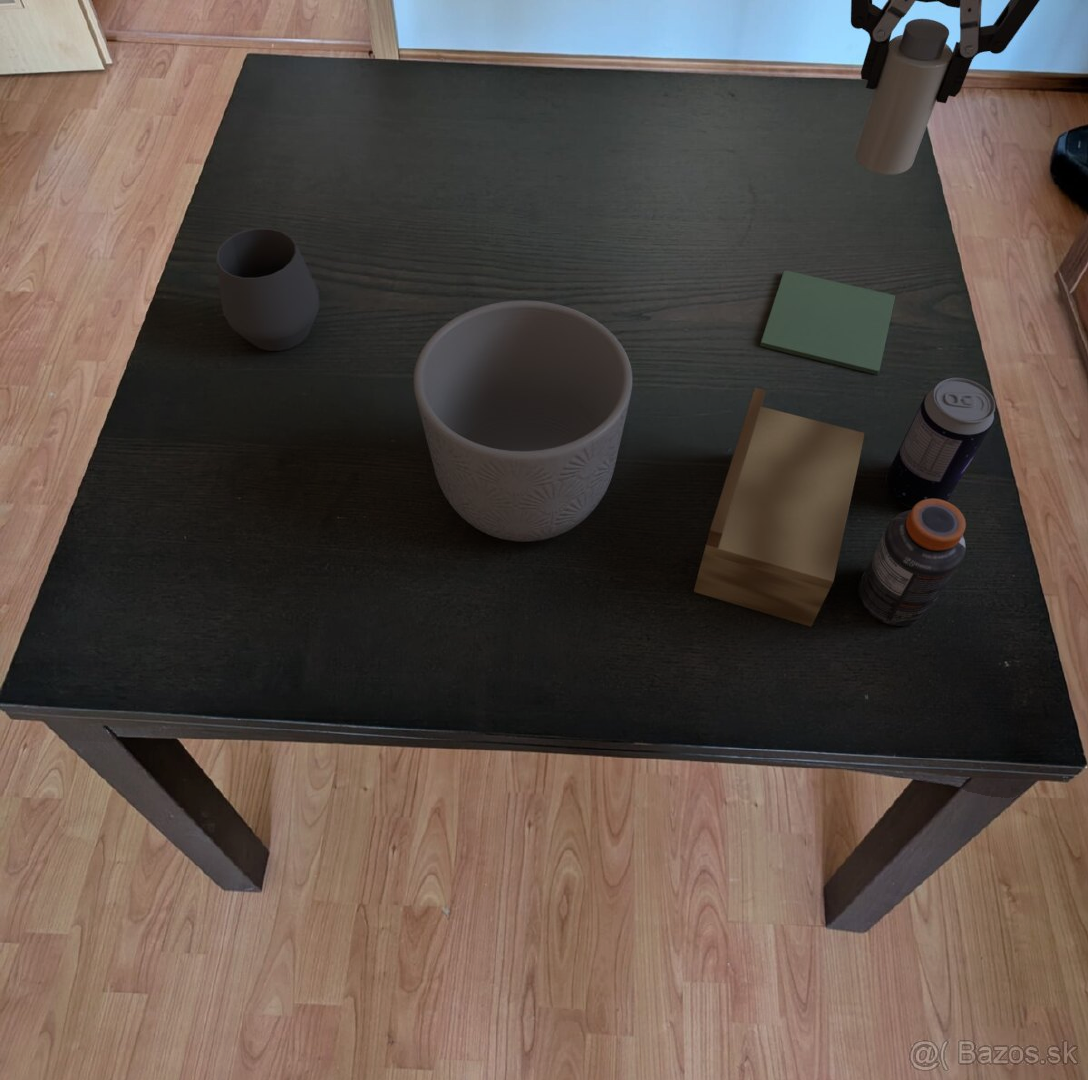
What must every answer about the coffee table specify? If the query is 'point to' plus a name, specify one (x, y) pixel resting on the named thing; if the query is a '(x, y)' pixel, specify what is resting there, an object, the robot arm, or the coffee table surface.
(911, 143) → the spice bottle
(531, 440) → the planter
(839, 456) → the stepped wooden block
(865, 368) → the mat
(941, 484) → the beverage can
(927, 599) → the pill bottle
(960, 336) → the coffee table surface
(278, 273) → the cup
